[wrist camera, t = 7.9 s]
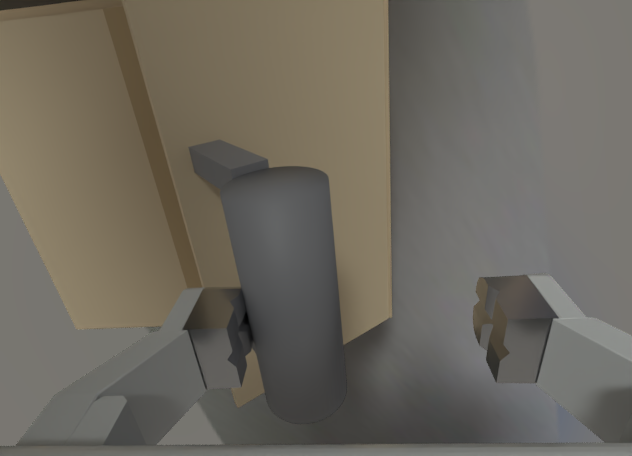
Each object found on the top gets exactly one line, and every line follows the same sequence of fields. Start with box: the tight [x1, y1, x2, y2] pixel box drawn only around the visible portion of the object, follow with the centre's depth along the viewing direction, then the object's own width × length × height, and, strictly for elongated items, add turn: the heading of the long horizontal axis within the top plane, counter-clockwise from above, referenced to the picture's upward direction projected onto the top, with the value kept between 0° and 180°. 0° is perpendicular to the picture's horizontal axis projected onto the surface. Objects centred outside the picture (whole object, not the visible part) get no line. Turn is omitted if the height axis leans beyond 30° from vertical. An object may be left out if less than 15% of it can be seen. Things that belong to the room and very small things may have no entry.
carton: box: [0, 0, 392, 329], centre depth 21 cm, size 16×18×9 cm
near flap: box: [122, 0, 389, 424], centre depth 13 cm, size 15×9×6 cm
